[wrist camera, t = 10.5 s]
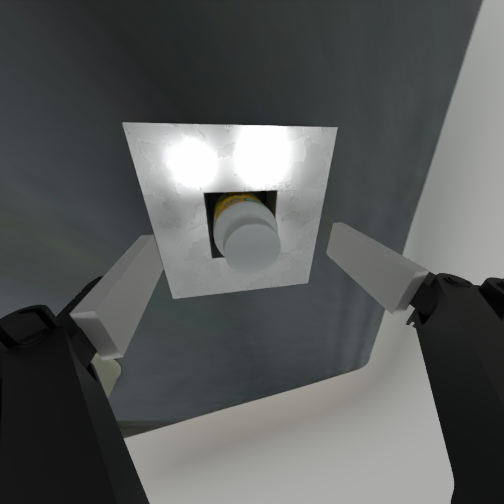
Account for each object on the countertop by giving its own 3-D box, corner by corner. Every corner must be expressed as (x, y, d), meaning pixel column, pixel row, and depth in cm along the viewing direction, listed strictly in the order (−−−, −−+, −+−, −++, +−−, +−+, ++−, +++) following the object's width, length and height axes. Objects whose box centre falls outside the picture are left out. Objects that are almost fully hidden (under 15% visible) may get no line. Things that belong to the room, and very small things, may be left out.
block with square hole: (143, 129, 15) (122, 122, 12) (314, 132, 18) (337, 127, 14) (179, 277, 23) (173, 298, 20) (295, 265, 26) (307, 283, 22)
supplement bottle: (215, 234, 21) (215, 285, 13) (212, 187, 19) (208, 213, 10) (259, 232, 22) (285, 279, 14) (261, 187, 20) (295, 211, 11)
